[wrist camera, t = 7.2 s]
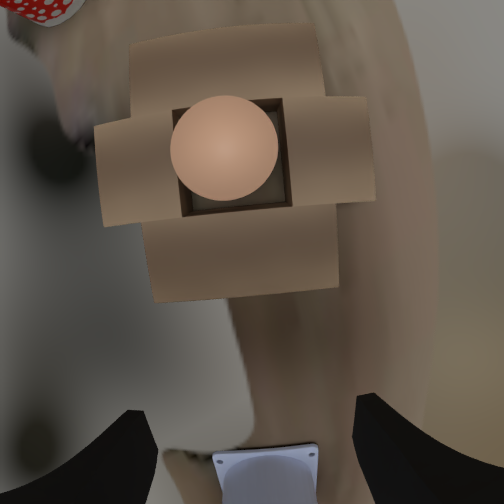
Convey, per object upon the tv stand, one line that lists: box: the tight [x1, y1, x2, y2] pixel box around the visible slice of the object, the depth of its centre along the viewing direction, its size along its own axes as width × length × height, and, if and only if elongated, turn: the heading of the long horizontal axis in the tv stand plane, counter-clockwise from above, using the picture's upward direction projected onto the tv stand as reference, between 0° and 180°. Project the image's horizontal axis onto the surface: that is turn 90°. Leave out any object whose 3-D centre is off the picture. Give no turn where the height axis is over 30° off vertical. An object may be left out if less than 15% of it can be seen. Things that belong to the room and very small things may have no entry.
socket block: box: [94, 23, 376, 303], centre depth 15 cm, size 13×13×3 cm
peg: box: [170, 95, 278, 201], centre depth 13 cm, size 4×4×7 cm
